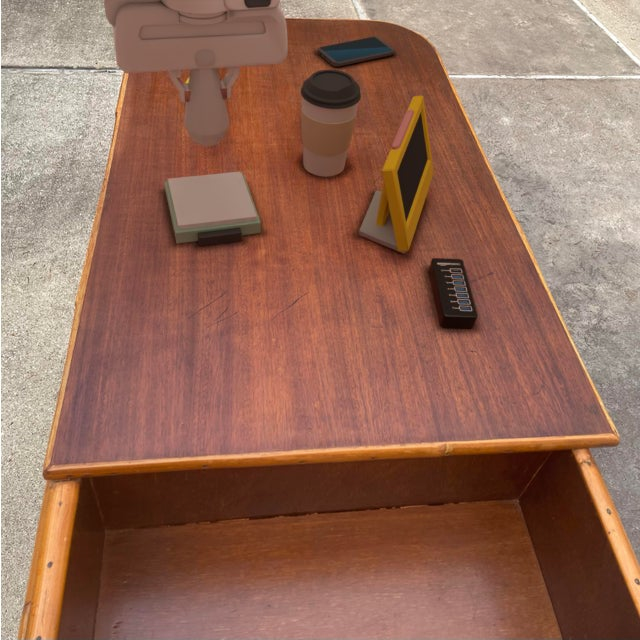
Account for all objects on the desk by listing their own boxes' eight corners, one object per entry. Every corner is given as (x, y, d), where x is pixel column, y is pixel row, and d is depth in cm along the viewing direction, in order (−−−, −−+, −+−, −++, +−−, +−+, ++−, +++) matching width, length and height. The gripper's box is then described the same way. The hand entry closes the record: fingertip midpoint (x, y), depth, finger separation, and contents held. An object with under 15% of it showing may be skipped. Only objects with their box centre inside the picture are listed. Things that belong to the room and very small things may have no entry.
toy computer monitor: (404, 269, 89) (426, 175, 78) (349, 255, 91) (364, 160, 79) (429, 190, 103) (452, 99, 91) (382, 178, 104) (398, 87, 92)
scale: (177, 249, 89) (176, 234, 87) (165, 192, 97) (163, 177, 95) (262, 238, 92) (263, 223, 90) (243, 184, 100) (243, 168, 98)
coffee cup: (284, 162, 105) (288, 74, 94) (322, 142, 110) (330, 57, 98) (325, 187, 101) (334, 99, 90) (362, 166, 106) (375, 79, 95)
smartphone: (315, 51, 132) (315, 47, 131) (375, 39, 138) (376, 35, 137) (334, 68, 128) (335, 63, 127) (395, 55, 134) (396, 50, 133)
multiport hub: (440, 328, 83) (444, 316, 81) (427, 269, 90) (431, 257, 88) (473, 329, 83) (478, 317, 81) (458, 270, 90) (462, 258, 89)
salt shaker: (192, 123, 87) (185, 26, 77) (234, 129, 87) (231, 33, 77) (180, 146, 83) (170, 48, 74) (223, 153, 83) (219, 55, 73)
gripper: (102, -3, 66) (122, 118, 76) (294, -9, 71) (288, 105, 81) (99, -27, 70) (118, 91, 80) (280, -31, 75) (277, 81, 85)
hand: (205, 98), depth 81 cm, fingers closed on salt shaker, 3 cm apart
